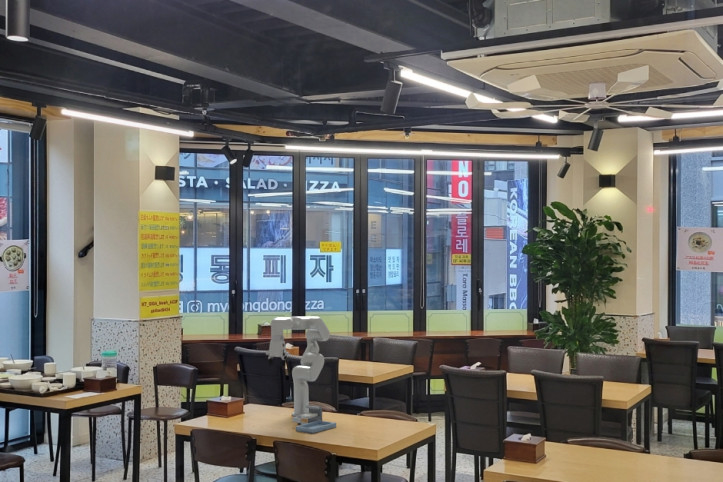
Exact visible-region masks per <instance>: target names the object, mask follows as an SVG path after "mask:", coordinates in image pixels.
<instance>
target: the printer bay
mask: <svg viewBox="0 0 723 482" xmlns="http://www.w3.org/2000/svg"><path fill="white" fill-rule="evenodd" d="M306 408H309V413H318V416H316V417H312V418H308V423H311V422H315V421H319V420H320V421H323V406H321V405H312V404H310V405H308V406H306ZM297 418H301V417H297ZM300 425H301V423H297V426H300Z"/></svg>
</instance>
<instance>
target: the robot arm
mask: <svg viewBox="0 0 723 482" xmlns="http://www.w3.org/2000/svg"><path fill="white" fill-rule="evenodd" d="M284 330H288V331H289V330H292V331H293V330H294V331H295V330H297V331H300V330H302V331H303V330H306V331H305V337H306V338H305V339H306V343H307V344H306V345H307V347H306V348H305V351H304V352H303V354H302V356H301V358H300V364H301V365H296V366H294V367H293V368H292V370H291V375H292V380H293V381H292V382H293V404H294V405H293V412H291V415H292V417H295V416H299V415H302V414H306V413H309V408H306V406H308V405H309V404H310V403H309V399H310V398H309V392H310V391H309V390H310V389H309V384H308V382H316V380H317V379H318V377H319V375H320V373H321V371H322V370H323V367H324V365H325V357H324V355H323V354H321V353H319V352H320V346H319V344H318V342H327V341H328V340H329V339H330V337H331V336H330V335H331V334H330V333H331V332H330V330H329V328H328V327H327V324H326V323H325V321H324V320H323V319H322V317H320V316H286V317H285V316H283V317H281V316H279V317H273V318H272V319H271V322H270V338H271V339H270V342H269V349H268V350H267V351H265V354H266V355H265V356H266V357H267V359H268V365H269V366H270V367H271V366H274V359H273V358H281V367H286V365H287V364H286V363H287V362H286V360H287V359H288V358H289V355H290V353H289V351H287V349H286V342H285V336H284Z"/></svg>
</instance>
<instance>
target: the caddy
mask: <svg viewBox="0 0 723 482" xmlns="http://www.w3.org/2000/svg"><path fill="white" fill-rule="evenodd" d="M316 416H318V413H306V414H302V415H299V416H292V421H291V422H292V423H297V424H298V423H301V424H300V425H303V424H307V423H308V418H312V417H316ZM298 417H301V418H298Z"/></svg>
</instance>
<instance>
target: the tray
mask: <svg viewBox="0 0 723 482" xmlns="http://www.w3.org/2000/svg"><path fill="white" fill-rule="evenodd" d="M334 428H337V423H336V422H334V421H333V422H332V421H326V420H322V421H320V420H319V421H315V422H311V423H307V424H303V425H301V424H300V425H296V426H295V432H299V433H300V432H301V433H306V434H315V433H320V432H324V431H327V430H331V429H334Z"/></svg>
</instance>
